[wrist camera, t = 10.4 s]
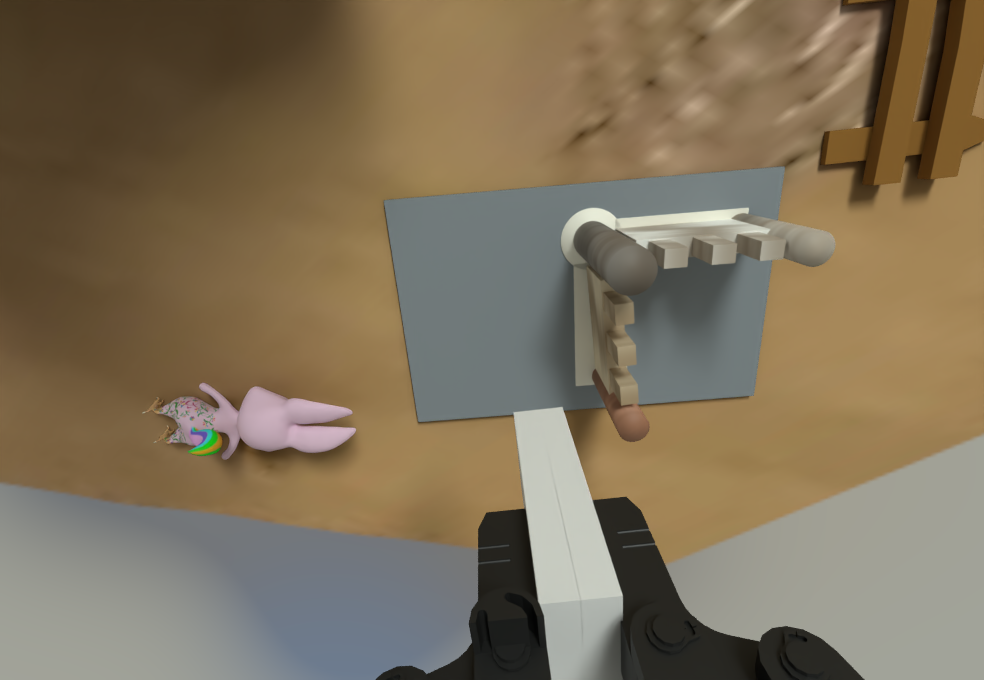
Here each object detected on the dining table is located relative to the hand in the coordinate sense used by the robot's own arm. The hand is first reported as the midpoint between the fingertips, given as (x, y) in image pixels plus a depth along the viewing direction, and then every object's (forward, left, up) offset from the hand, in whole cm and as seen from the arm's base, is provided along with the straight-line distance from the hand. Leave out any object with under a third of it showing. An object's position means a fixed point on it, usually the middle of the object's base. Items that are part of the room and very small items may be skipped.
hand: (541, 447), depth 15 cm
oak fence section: (+6, -3, -18) cm, 19 cm away
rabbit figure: (-19, -8, -19) cm, 28 cm away
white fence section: (+10, +3, -18) cm, 21 cm away
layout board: (+5, -2, -19) cm, 20 cm away
